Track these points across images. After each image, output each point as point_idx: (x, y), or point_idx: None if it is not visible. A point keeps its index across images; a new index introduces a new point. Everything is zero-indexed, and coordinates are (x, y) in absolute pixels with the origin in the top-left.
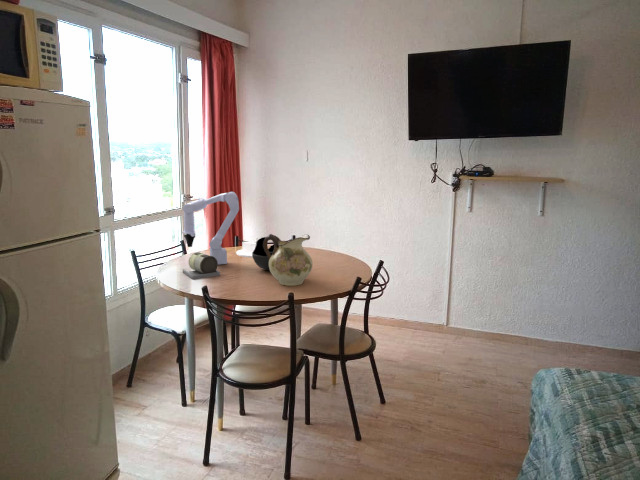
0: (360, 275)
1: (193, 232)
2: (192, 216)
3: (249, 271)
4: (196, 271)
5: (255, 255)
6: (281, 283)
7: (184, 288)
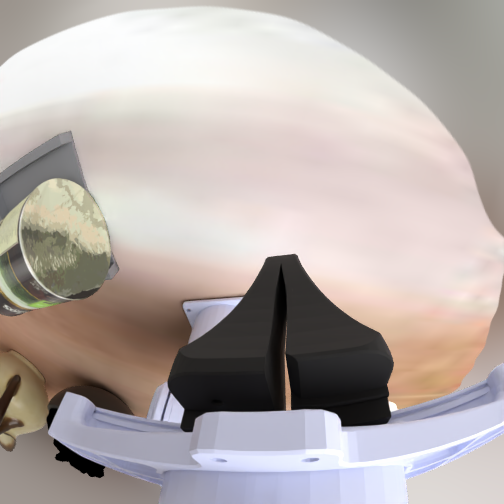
0: None
1: (135, 475)
2: None
3: (88, 361)
4: None
5: (55, 405)
6: (10, 351)
7: None
